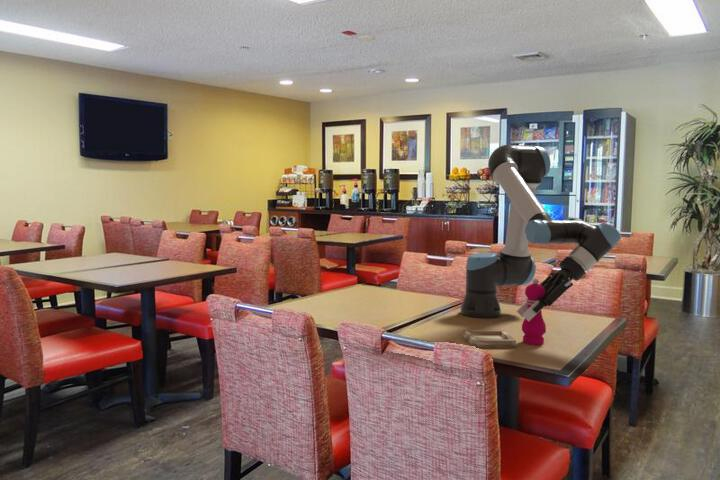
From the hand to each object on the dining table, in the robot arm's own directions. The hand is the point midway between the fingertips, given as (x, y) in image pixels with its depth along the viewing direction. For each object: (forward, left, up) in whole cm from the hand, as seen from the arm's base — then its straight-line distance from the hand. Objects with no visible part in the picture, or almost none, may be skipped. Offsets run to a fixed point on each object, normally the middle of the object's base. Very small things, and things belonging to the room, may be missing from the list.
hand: (522, 316), depth 177 cm
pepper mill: (0, +4, -8) cm, 9 cm away
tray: (0, -10, -8) cm, 13 cm away
